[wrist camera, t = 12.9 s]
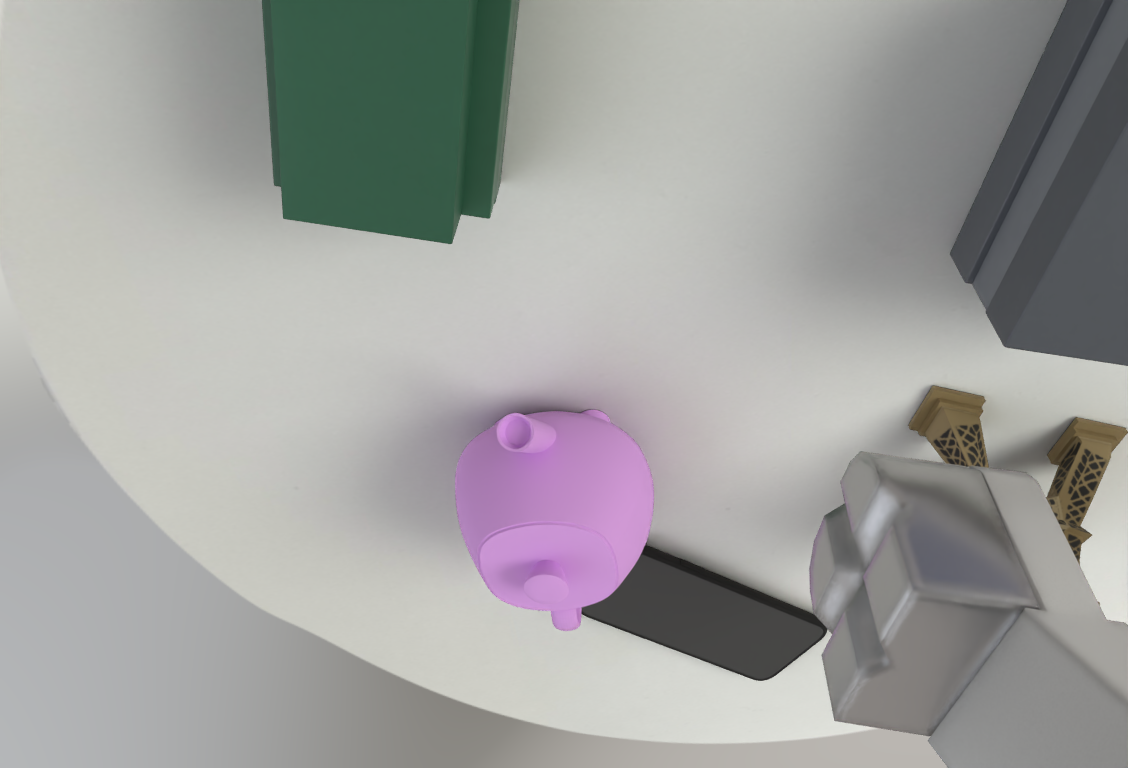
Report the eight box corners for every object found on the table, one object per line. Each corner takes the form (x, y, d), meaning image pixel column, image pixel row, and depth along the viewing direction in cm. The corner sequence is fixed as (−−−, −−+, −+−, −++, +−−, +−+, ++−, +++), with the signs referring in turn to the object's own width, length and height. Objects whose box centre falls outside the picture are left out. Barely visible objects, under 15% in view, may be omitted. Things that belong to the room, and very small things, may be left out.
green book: (284, -184, 29) (259, -173, 27) (489, -150, 29) (479, -136, 27) (301, 189, 37) (282, 219, 35) (461, 213, 37) (451, 244, 35)
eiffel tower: (932, 385, 46) (1155, 922, 26) (1125, 428, 47) (1478, 976, 27) (847, 524, 52) (974, 1037, 33) (1017, 559, 53) (1240, 1078, 34)
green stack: (279, -225, 31) (240, -212, 28) (538, -180, 32) (528, -164, 29) (297, 152, 40) (269, 194, 37) (500, 184, 40) (489, 228, 37)
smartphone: (764, 686, 61) (569, 613, 57) (763, 674, 62) (570, 600, 58) (836, 629, 57) (631, 545, 53) (833, 617, 58) (631, 533, 54)
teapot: (493, 544, 55) (471, 678, 48) (428, 345, 46) (390, 473, 39) (665, 531, 54) (670, 668, 46) (633, 323, 45) (633, 452, 37)
